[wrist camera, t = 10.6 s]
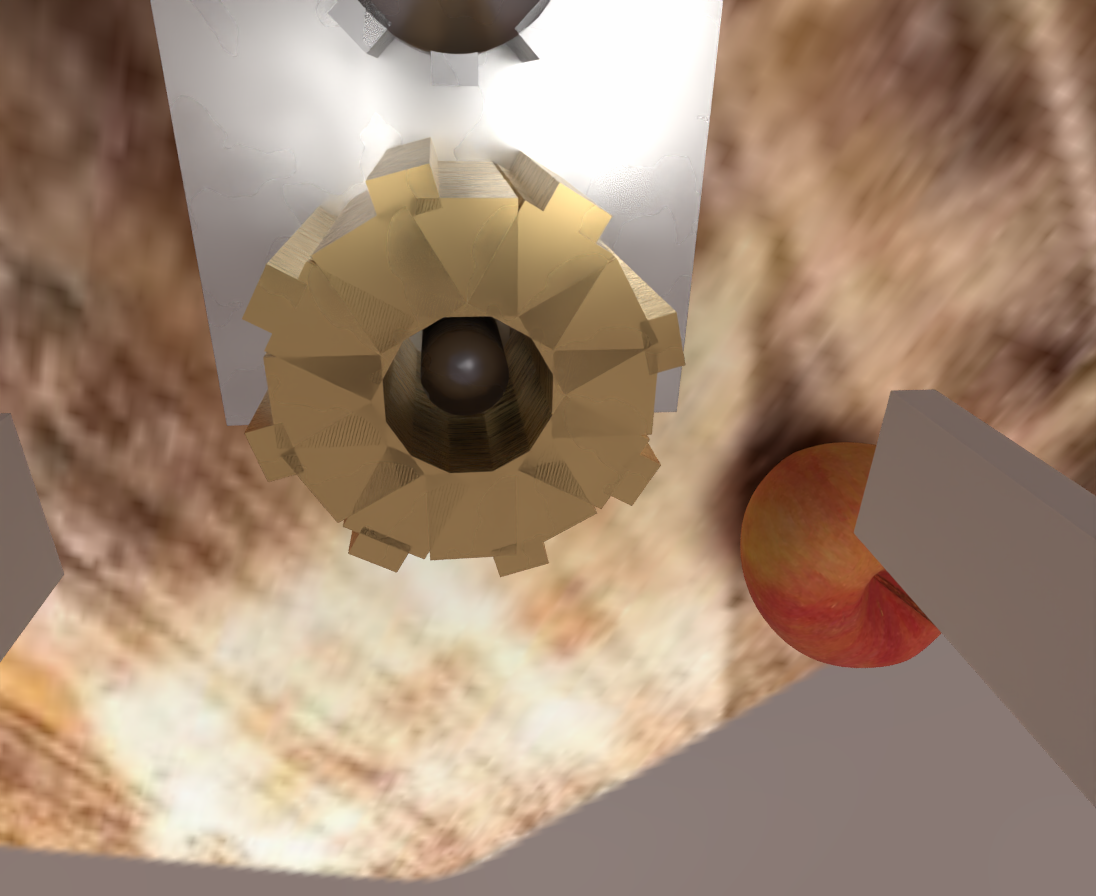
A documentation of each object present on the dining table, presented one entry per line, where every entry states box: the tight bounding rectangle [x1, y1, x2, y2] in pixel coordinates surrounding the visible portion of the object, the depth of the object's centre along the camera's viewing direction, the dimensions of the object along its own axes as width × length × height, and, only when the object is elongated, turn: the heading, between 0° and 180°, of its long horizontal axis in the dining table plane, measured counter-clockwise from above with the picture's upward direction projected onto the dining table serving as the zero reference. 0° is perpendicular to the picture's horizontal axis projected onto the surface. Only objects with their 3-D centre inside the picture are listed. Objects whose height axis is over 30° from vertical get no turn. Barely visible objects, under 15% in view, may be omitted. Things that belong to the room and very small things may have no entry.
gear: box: [242, 137, 685, 577], centre depth 19 cm, size 9×9×7 cm
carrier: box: [150, 0, 723, 426], centre depth 18 cm, size 16×14×7 cm
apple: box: [740, 442, 941, 668], centre depth 25 cm, size 7×7×8 cm
